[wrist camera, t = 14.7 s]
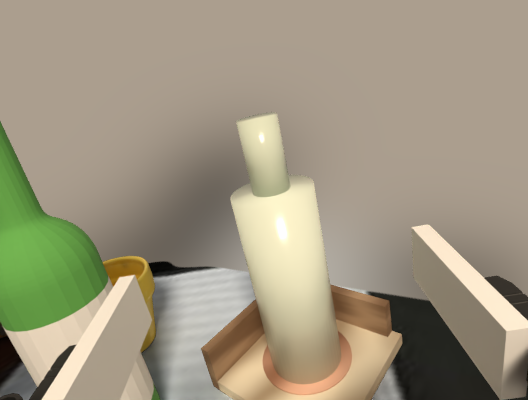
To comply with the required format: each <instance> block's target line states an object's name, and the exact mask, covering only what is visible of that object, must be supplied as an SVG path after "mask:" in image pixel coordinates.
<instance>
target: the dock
mask: <svg viewBox="0 0 528 400" xmlns="http://www.w3.org/2000/svg"><path fill="white" fill-rule="evenodd" d="M330 286H331V292H332V298H333V304H334V311H335V317H336V323H337V329H338V335H339V341H340V347H341V361H340V364H339V366H338V368H337V369H336V370H335V372H334V373H333V374H331V375H330V376H329V377H328V378H326V379H324V380H322V381H320V382H317V383H313V384H295V383H291V382H289V381H286V380H285V379H283V378H282V377H280V376H279V375H278V374H277V372H276V371H275V369H274V367H273V364H272V360H271V356H270V352H269V348H268V344H267V340H266V336H265V332H264V328H263V325H262V321H261V317H260V313H259V309H258V305H257V301H256V299H255V300H254V301H253V302H252V303H251V304H250V305H249V306H248V307H247V308H245V309H244V310H243V311H242V312H241V313H240V314H239V315H238V316H237V317H235V318H234V319H233V320H232V321H231V322H230V323H229V324H228V325H227V326H226V327H224V328H223V329H222V330H221V331H220V332H219V333H218V334H217V335H216V336H214V337H213V338H212V339H211V340H210V341H209V342H208V343H207V344H206V345H204V346H203V347H202V348H201V350H202V353H203V356H204V359H205V362H206V365H207V368H208V371H209V374H210V377H211V379H212V382H213V385H214V387H216V388H217V389H219V390H220V391H222V392H223V393H225V394H226V395H228V396H229V397H231V398H232V399H234V400H371V399H372V397H373V396H374V394H375V392H376V390H377V388H378V386H379V385H380V383H381V381H382V379H383V377H384V376H385V374H386V372H387V370H388V368H389V367H390V365H391V363H392V361H393V359H394V357H395V356H396V354H397V352H398V350H399V348H400V347H401V345H402V334H400V333H397V332H394V331H392V327H391V317H390V306H389V301H387V300H384V299H380V298H377V297H373V296H369V295H366V294H362V293H359V292H355V291H352V290H348V289H344V288H341V287H337V286H334V285H330Z"/></svg>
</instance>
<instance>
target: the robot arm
mask: <svg viewBox="0 0 528 400" xmlns="http://www.w3.org/2000/svg"><path fill="white" fill-rule="evenodd" d="M412 254H413V278H414V279H415V281H416V282H417V283H418V285H419V286H420V288H421V289H422V290H423V292H424V293H425V295H426V296H427V297H428V299H429V300H430V302H431V303H432V304H433V306H434V307H435V309H436V310H437V312H438V313H439V314H440V316H441V317H442V319H443V320H444V321H445V323H446V324H447V326H448V327H449V328H450V330H451V331H452V333H453V334H454V335H455V337H456V338H457V340H458V341H459V342H460V344H461V345H462V347H463V348H464V349H465V351H466V352H467V354H468V355H469V356H470V358H471V359H472V361H473V362H474V364H475V365H476V366H477V368H478V369H479V371H480V372H481V373H482V375H483V376H484V378H485V379H486V380H487V382H488V383H489V385H490V386H491V387H492V389H493V390H494V392H495V393H496V394H497V396H498V397H499V399H500V400H504V399H511V398H518V397H525V396H526V390H527V382H528V297H527V296H526V295H525V294H523V293H522V291H520V290H519V289H518V288H517V287H516V286H515V285H514V284H512V283H511V282H509V281H507V280H505V279H503V278H500V277H499V276H492V277H486V278H483V277H482V276H481V275H480V274H479V273H478V272H477V271H476V270H475V269H474V268H473V267H472V266H471V265H470V264H469V263H468V262H467V261H466V260H465V259H464V258H463V257H461V255H459V254H458V253H457V252H456V251H455V250H454V249H453V248H452V247H451V246H450V245H449V244H448V243H447V242H446V241H445V240H444V239H443V238H442V237H441V236H440V235H439V234H438V233H437V232H436V231H435V230H434V229H433V228H432V227H431V226H430V225H422V226H416V227H412ZM151 322H152V318H151V316H150V313H149V310H148V308H147V305H146V303H145V300H144V297H143V295H142V292H141V289H140V287H139V284H138V282H137V279H136V276H135V275H131V276H125V277H119V279H118V281H117V282H116V284H115V285H114V287H113V288H112V290H111V292H110V293H109V295H108V296H107V298H106V299H105V301H104V303H103V304H102V306H101V307H100V309H99V310H98V312H97V314H96V315H95V317H94V318H93V320H92V321H91V323H90V324H89V326H88V328H87V329H86V331H85V332H84V334H83V335H82V337H81V339H80V340H79V342H78V343H77V345H71V346H69V347H68V348H67V349H66V350H65V351H64V352H62V353H61V354H60V355H59V356H58V357H57V359H56V360H55V362H54V363H53V365H52V366H51V368H50V370H49V371H48V372H47V374H46V375H45V377H44V380H42V381H41V383H40V384H39V386H38V387H37V389H36V390H35V392H34V393H33V395H32V396H31V398H30V399H29V400H120V398H121V396H122V393H123V391H124V389H125V386H126V384H127V381H128V379H129V376H130V374H131V371H132V369H133V366H134V364H135V361H136V359H137V357H138V354H139V352H140V349H141V347H142V344H143V342H144V339H145V337H146V334H147V332H148V329H149V327H150V325H151ZM0 400H23V399H22V397H21V396H20V395H19V394H14V393H12V394H8V395H4V396H2V397H0Z"/></svg>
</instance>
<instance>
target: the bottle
mask: <svg viewBox="0 0 528 400" xmlns="http://www.w3.org/2000/svg"><path fill="white" fill-rule="evenodd" d="M236 123H237V128H238V132H239V136H240V141H241V144H242V149H243V154H244V158H245V162H246V166H247V171H248V175H249V180H250V183H249V184H247V185H245V186H243V187H241V188H239V189H238V190H236V191H235V192H234V193H233V194H232V196H231V198H230V199H231V204H232V208H233V211H234V215H235V219H236V223H237V227H238V231H239V235H240V239H241V242H242V247H243V250H244V254H245V258H246V262H247V266H248V270H249V274H250V278H251V282H252V286H253V289H254V293H255V297H256V301H257V305H258V309H259V313H260V317H261V321H262V325H263V328H264V332H265V336H266V340H267V344H268V348H269V352H270V356H271V360H272V364H273V367H274V369H275V371H276V372H277V374H278V375H279V376H280V377H282V378H283V379H285V380H286V381H289V382H291V383H295V384H313V383H317V382H320V381H322V380H324V379H326V378H328V377H329V376H330V375H331V374H333V373H334V372H335V370H336V369H337V368H338V366H339V364H340V361H341V347H340V341H339V335H338V329H337V323H336V317H335V311H334V304H333V298H332V292H331V286H330V280H329V274H328V268H327V262H326V255H325V249H324V243H323V237H322V231H321V225H320V219H319V212H318V206H317V200H316V194H315V188H314V182H313V180H312V179H310V178H309V177H306V176H301V175H288V170H287V164H286V159H285V153H284V148H283V143H282V138H281V132H280V127H279V122H278V116H277V113H264V114H258V115H253V116H249V117H246V118H243V119H240V120H238V121H237V122H236Z"/></svg>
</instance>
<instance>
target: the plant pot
mask: <svg viewBox="0 0 528 400" xmlns="http://www.w3.org/2000/svg"><path fill="white" fill-rule="evenodd" d="M102 263H103V265H104V267H105V270H106V272H107V274H108V276H109V278H110V281H111V283H112V285H113V287H114V285H115V284H116V282H117V281H118V279H119V277H125V276H131V275H135V276H136V279H137V282H138V284H139V287H140V289H141V292H142V295H143V297H144V300H145V303H146V305H147V308H148V310H149V313H150V316H151V318H152V322H151V325H150V327H149V329H148V332H147V334H146V337H145V339H144V342H143V344H142V347H141V349H140V351H141V352H143V351H144V350H145V349H146V348H147V347H149V345H150V344H151V343H152V341H153V340H154V338H155V334H156V329H155V321H154V311H153V301H152V295H153V293H154V290H155V283H154V279H153V276H152V273H151V270H150V267H149V264H148V262H147V261H146V260H145V259H143V258H141V257H138V256H124V257H118V258H114V259H110V260H106V261H104V262H102Z"/></svg>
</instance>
